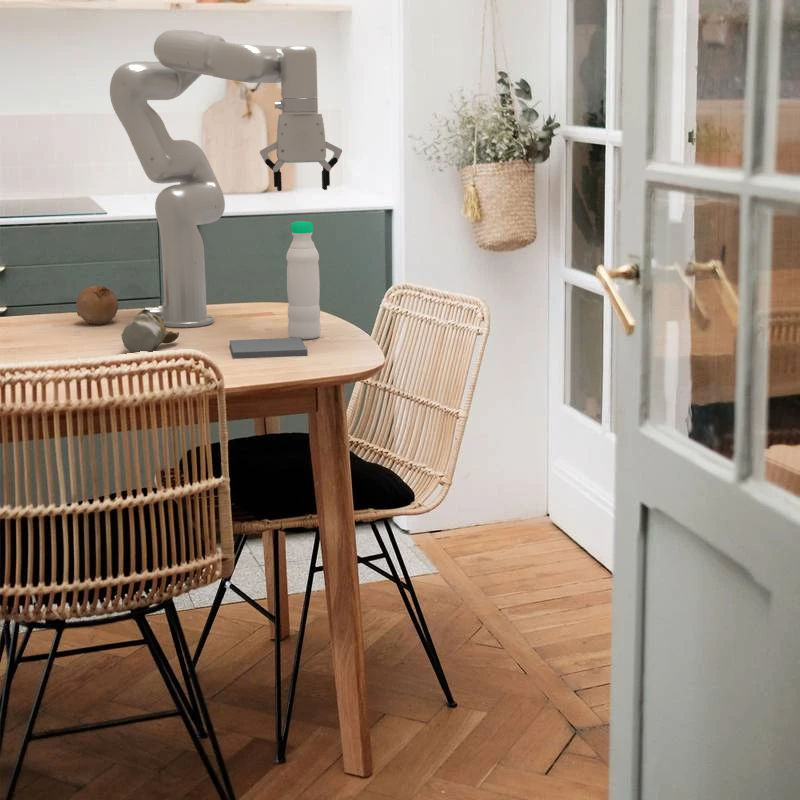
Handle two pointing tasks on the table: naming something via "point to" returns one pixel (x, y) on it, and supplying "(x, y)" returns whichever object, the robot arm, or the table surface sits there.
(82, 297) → the onion
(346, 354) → the table surface
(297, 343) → the slate mat
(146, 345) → the ceramic sculpture
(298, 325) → the water bottle
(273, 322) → the table surface
